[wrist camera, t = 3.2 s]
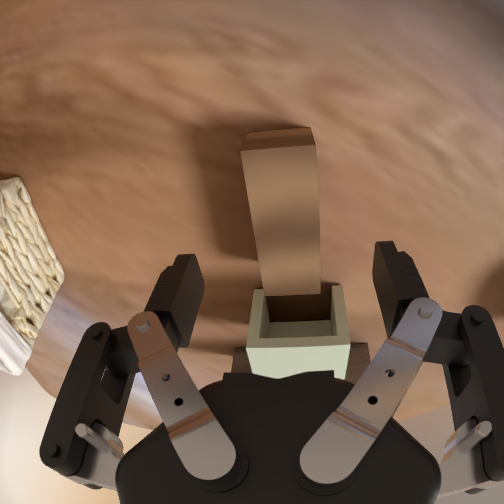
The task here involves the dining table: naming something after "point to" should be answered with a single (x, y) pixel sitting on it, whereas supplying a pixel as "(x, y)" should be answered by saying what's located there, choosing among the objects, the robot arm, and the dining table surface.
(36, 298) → the storage basket
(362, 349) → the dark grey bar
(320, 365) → the sage block
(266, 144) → the walnut block
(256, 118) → the dining table surface
